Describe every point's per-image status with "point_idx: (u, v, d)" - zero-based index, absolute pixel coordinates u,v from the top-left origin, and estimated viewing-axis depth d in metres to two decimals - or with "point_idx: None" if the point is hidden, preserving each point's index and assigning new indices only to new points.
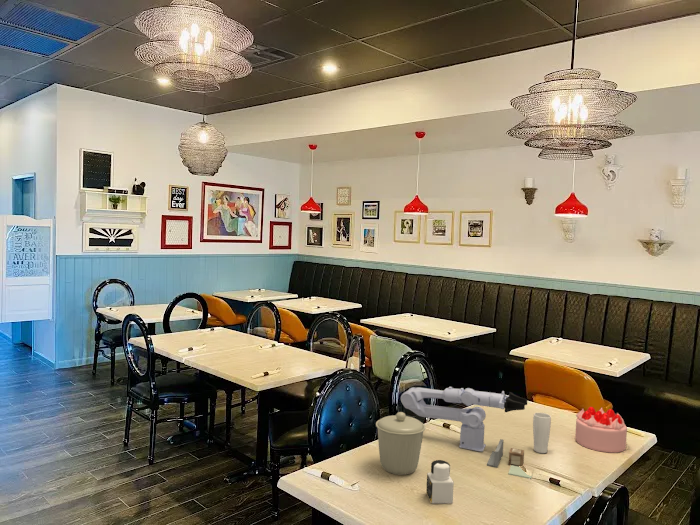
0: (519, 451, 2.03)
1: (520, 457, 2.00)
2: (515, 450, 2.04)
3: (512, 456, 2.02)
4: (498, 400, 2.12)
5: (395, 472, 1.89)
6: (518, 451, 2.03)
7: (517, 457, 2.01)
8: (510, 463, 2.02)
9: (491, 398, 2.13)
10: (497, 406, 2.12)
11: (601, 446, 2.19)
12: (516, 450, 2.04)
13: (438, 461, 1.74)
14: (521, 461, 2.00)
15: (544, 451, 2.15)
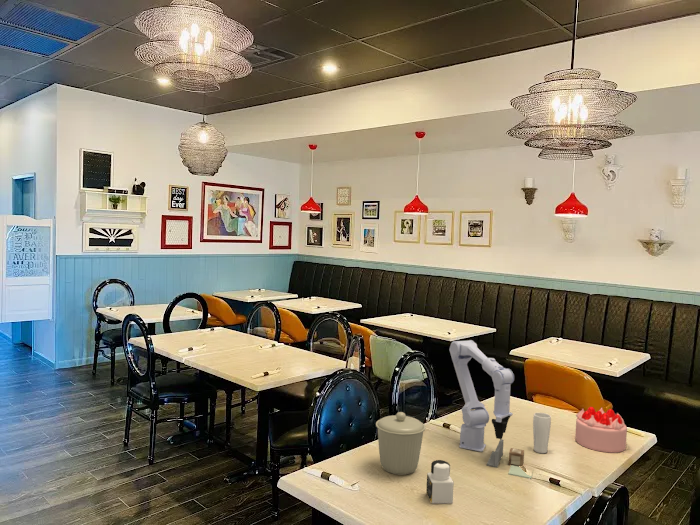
0: (519, 451, 2.03)
1: (520, 457, 2.00)
2: (515, 450, 2.04)
3: (512, 456, 2.02)
4: (502, 411, 2.02)
5: (395, 472, 1.89)
6: (518, 451, 2.03)
7: (517, 457, 2.01)
8: (510, 463, 2.02)
9: (504, 404, 2.02)
10: (496, 409, 2.04)
11: (601, 446, 2.19)
12: (516, 450, 2.04)
13: (438, 461, 1.74)
14: (521, 461, 2.00)
15: (544, 451, 2.15)
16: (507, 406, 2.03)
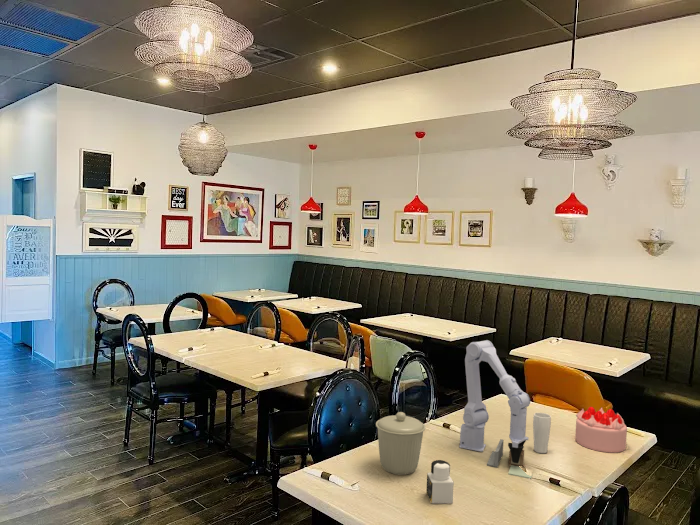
0: None
1: (520, 456, 2.00)
2: None
3: None
4: (518, 436, 2.00)
5: (395, 472, 1.89)
6: None
7: None
8: (510, 463, 2.02)
9: (520, 429, 2.00)
10: (512, 433, 2.02)
11: (601, 446, 2.19)
12: None
13: (438, 461, 1.74)
14: (521, 461, 2.01)
15: (544, 451, 2.15)
16: (523, 431, 2.01)
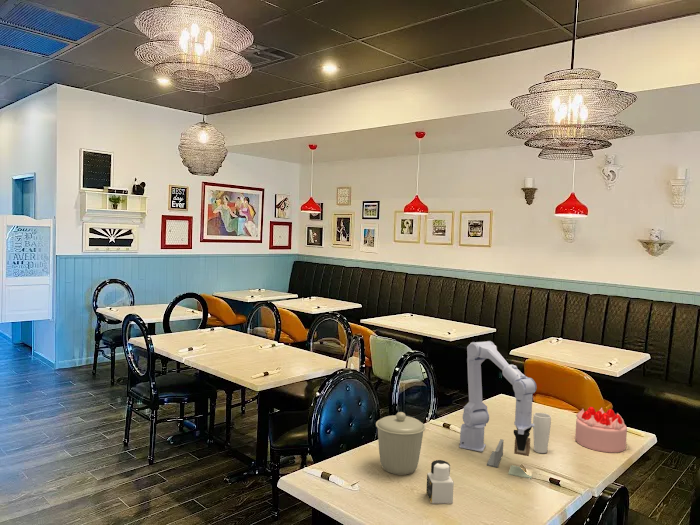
0: None
1: (526, 444, 1.93)
2: None
3: None
4: (524, 423, 1.93)
5: (395, 472, 1.89)
6: None
7: None
8: (516, 451, 1.95)
9: (526, 415, 1.93)
10: (517, 420, 1.95)
11: (601, 446, 2.19)
12: None
13: (438, 461, 1.74)
14: (527, 449, 1.93)
15: (544, 451, 2.15)
16: (529, 417, 1.94)
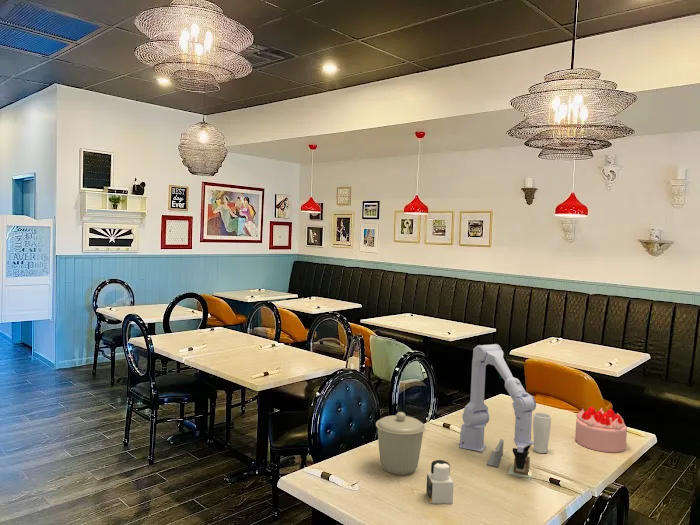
0: None
1: (525, 463, 1.93)
2: None
3: None
4: (524, 440, 1.93)
5: (395, 472, 1.89)
6: None
7: None
8: (515, 470, 1.95)
9: (525, 433, 1.93)
10: (516, 437, 1.94)
11: (601, 446, 2.19)
12: None
13: (438, 461, 1.74)
14: (527, 468, 1.93)
15: (544, 451, 2.15)
16: (529, 435, 1.93)
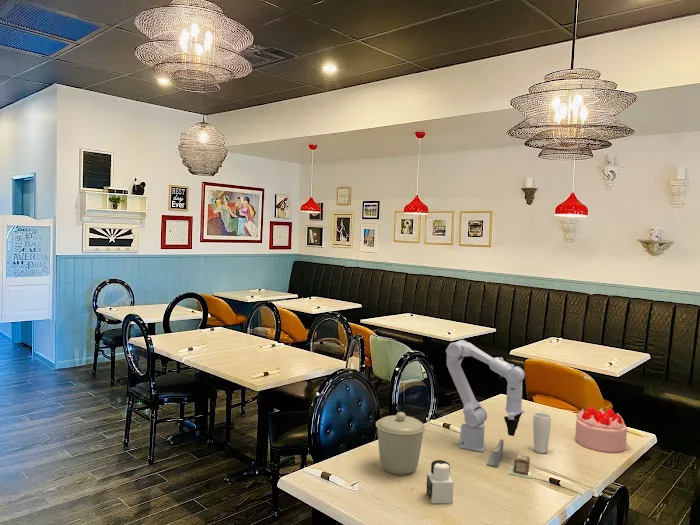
0: (525, 458, 1.95)
1: (525, 463, 1.93)
2: (520, 457, 1.96)
3: (517, 463, 1.94)
4: (515, 409, 2.06)
5: (395, 472, 1.89)
6: (523, 457, 1.96)
7: (522, 464, 1.93)
8: (515, 470, 1.95)
9: (516, 402, 2.06)
10: (508, 406, 2.08)
11: (601, 446, 2.19)
12: (521, 457, 1.96)
13: (438, 461, 1.74)
14: (527, 468, 1.93)
15: (544, 451, 2.15)
16: (519, 404, 2.07)
